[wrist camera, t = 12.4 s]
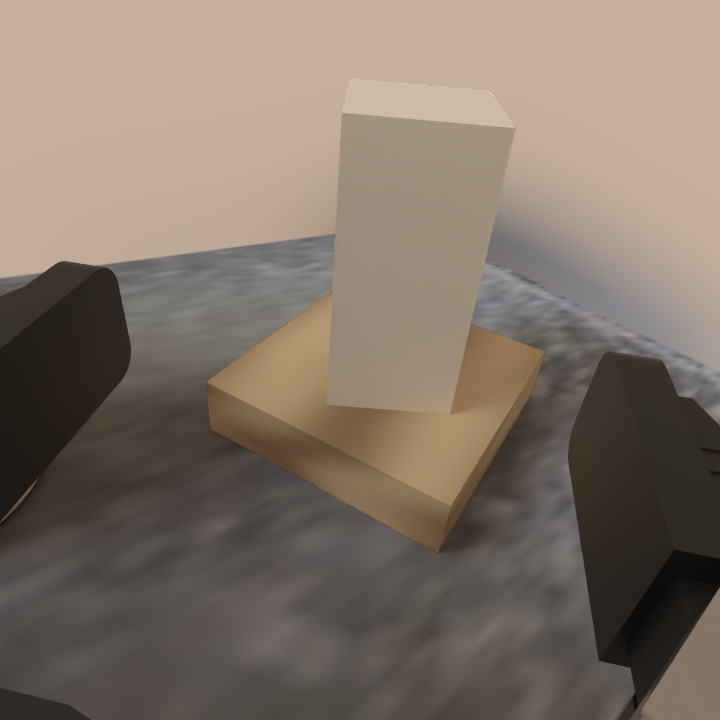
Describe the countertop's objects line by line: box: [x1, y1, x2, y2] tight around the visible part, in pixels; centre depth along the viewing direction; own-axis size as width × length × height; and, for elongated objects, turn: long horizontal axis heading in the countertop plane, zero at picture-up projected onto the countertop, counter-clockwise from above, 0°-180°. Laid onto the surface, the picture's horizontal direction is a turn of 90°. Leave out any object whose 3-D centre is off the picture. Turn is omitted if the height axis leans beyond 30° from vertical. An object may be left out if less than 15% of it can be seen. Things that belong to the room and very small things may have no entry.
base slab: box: [206, 292, 545, 553], centre depth 24 cm, size 10×10×3 cm
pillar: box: [326, 78, 515, 415], centre depth 19 cm, size 4×4×10 cm
